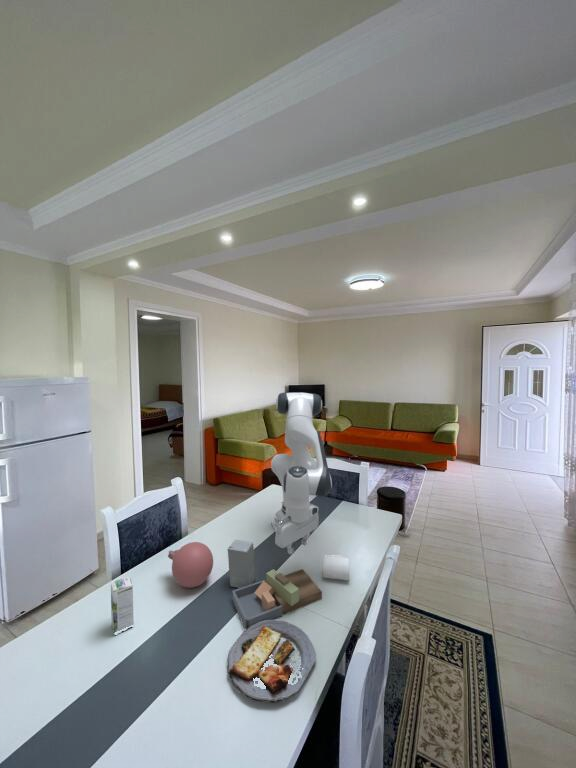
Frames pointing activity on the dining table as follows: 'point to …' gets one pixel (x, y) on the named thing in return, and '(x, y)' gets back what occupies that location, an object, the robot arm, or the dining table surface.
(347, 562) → the mug
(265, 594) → the tile
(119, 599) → the syrup box
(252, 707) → the dining table surface
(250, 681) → the food plate
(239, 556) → the skincare box
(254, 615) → the tray
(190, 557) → the balloon
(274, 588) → the green bar
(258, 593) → the tile
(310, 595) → the brown flat block
